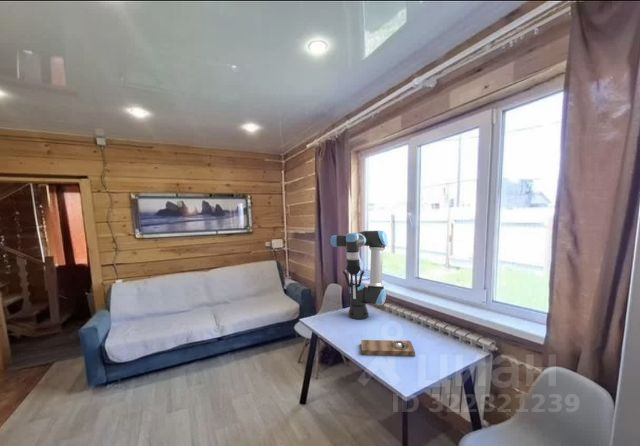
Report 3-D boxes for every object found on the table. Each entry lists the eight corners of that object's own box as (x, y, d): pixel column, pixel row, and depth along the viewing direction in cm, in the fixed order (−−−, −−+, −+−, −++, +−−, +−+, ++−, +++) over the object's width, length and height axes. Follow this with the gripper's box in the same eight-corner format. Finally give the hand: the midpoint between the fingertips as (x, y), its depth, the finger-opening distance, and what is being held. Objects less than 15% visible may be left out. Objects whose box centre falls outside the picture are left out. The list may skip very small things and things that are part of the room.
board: (361, 354, 145) (361, 350, 145) (361, 344, 157) (361, 339, 157) (415, 356, 141) (415, 351, 141) (410, 345, 153) (410, 340, 153)
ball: (392, 344, 150) (397, 339, 150) (398, 349, 150) (403, 344, 150) (394, 348, 146) (399, 343, 146) (399, 353, 146) (404, 348, 146)
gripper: (341, 260, 156) (343, 300, 157) (364, 259, 154) (365, 300, 155) (342, 258, 164) (343, 296, 164) (363, 257, 162) (365, 296, 162)
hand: (354, 298), depth 160 cm, fingers closed
